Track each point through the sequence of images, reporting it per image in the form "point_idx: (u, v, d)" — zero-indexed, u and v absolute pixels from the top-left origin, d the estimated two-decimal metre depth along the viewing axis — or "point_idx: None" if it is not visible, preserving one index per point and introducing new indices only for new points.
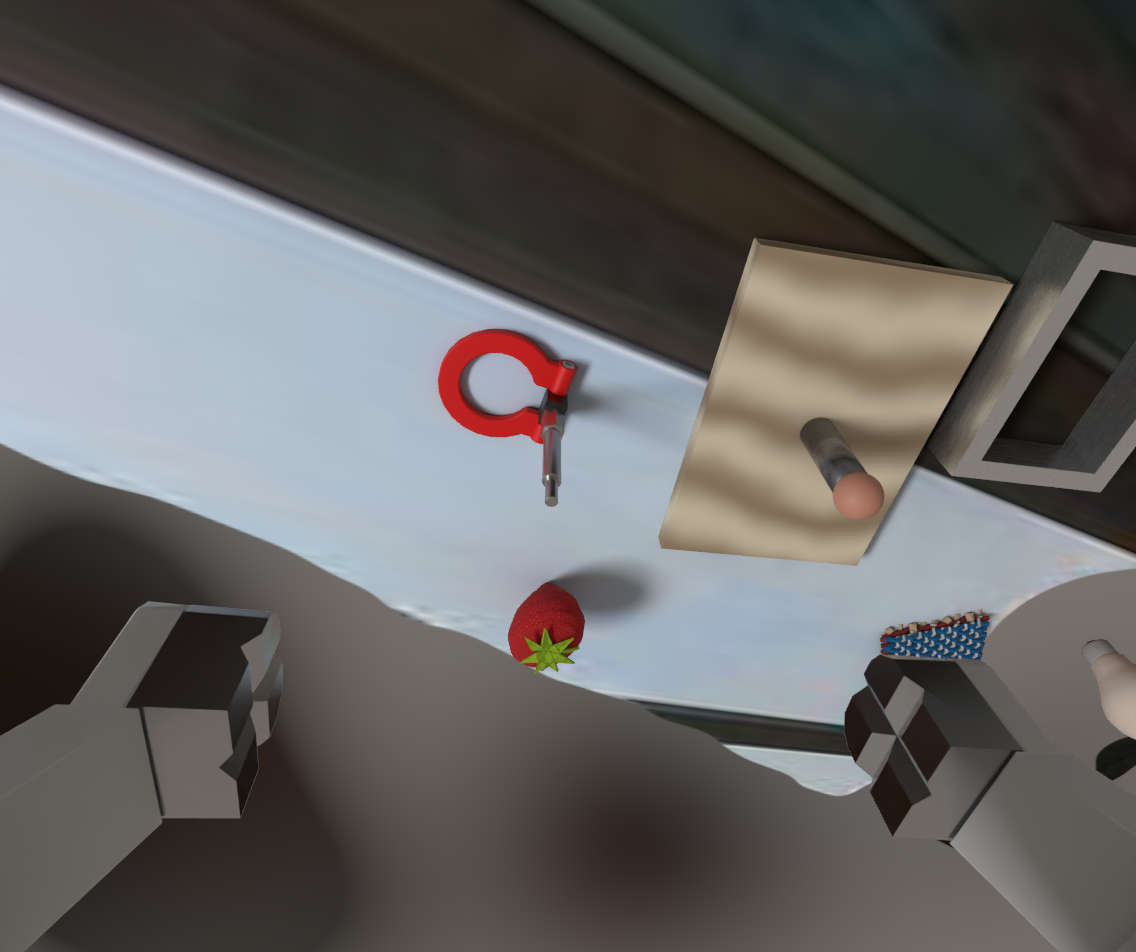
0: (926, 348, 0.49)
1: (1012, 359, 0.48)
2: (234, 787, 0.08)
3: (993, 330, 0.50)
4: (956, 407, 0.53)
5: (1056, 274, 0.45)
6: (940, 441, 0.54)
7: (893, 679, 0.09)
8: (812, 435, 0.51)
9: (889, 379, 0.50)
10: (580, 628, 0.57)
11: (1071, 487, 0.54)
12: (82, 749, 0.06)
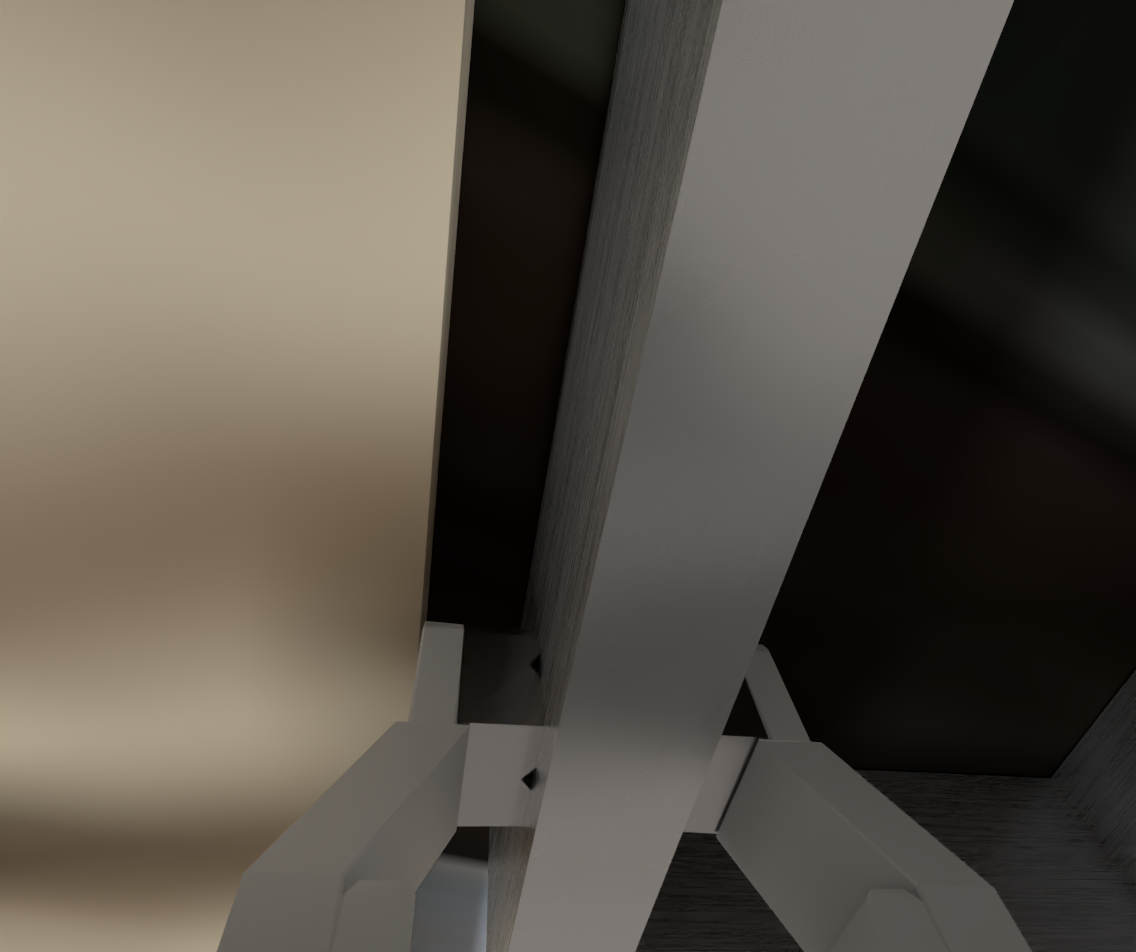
0: (64, 395, 0.07)
1: (595, 471, 0.06)
2: (525, 797, 0.08)
3: (578, 285, 0.08)
4: None
5: None
6: None
7: None
8: None
9: None
10: None
11: None
12: (439, 763, 0.07)
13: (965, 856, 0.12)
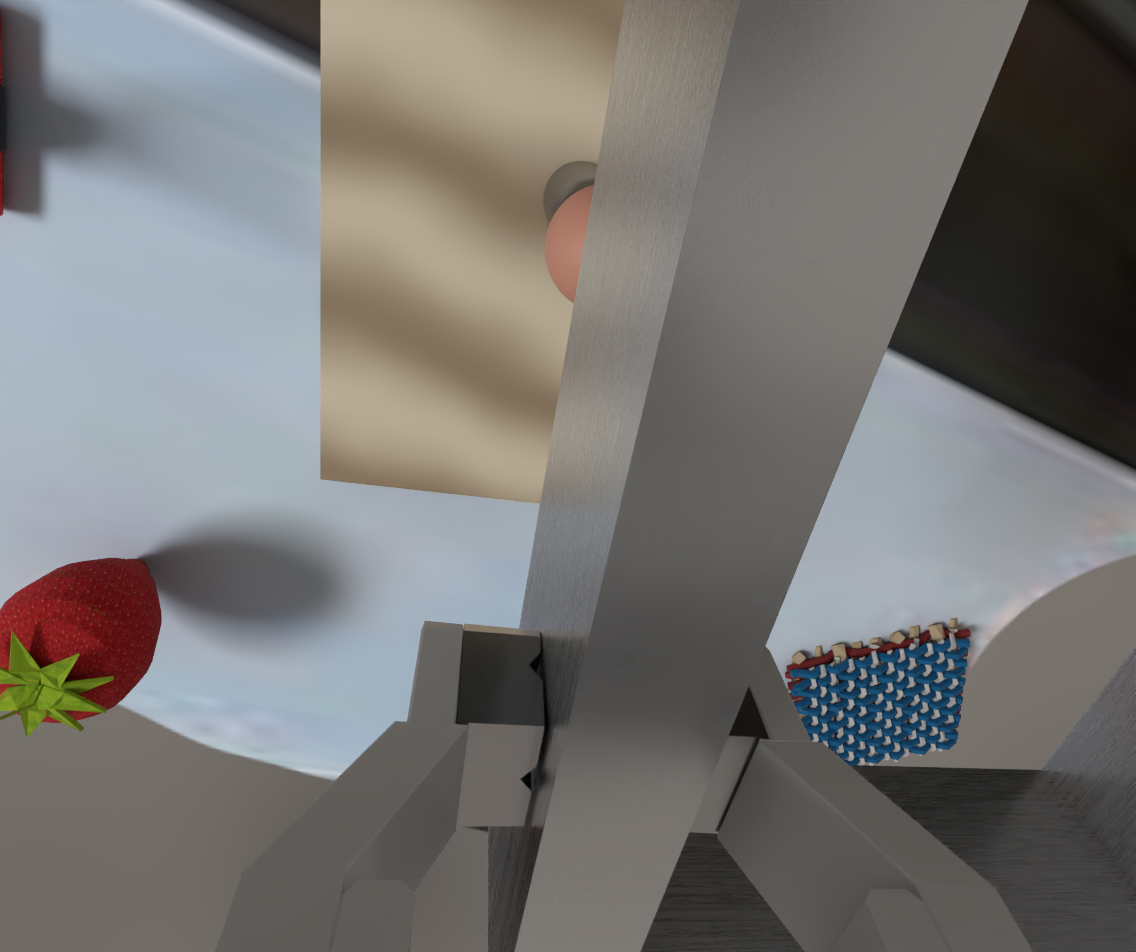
0: None
1: (602, 475, 0.06)
2: (525, 797, 0.08)
3: (577, 287, 0.08)
4: None
5: None
6: None
7: None
8: (551, 185, 0.23)
9: None
10: (120, 635, 0.27)
11: None
12: (439, 762, 0.07)
13: (960, 849, 0.12)
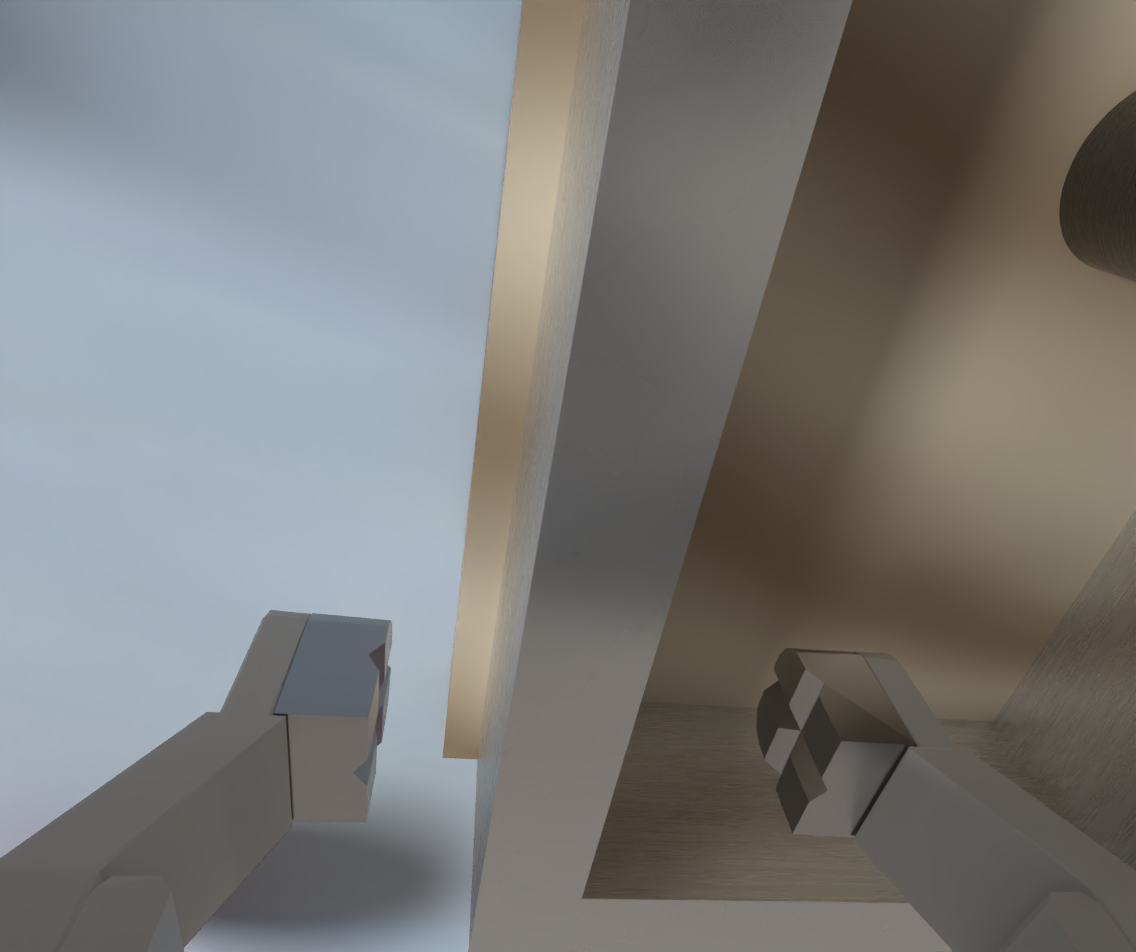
0: None
1: (552, 403, 0.07)
2: (363, 792, 0.08)
3: None
4: (499, 624, 0.12)
5: None
6: (482, 752, 0.13)
7: (797, 673, 0.09)
8: None
9: None
10: None
11: None
12: (242, 755, 0.06)
13: None
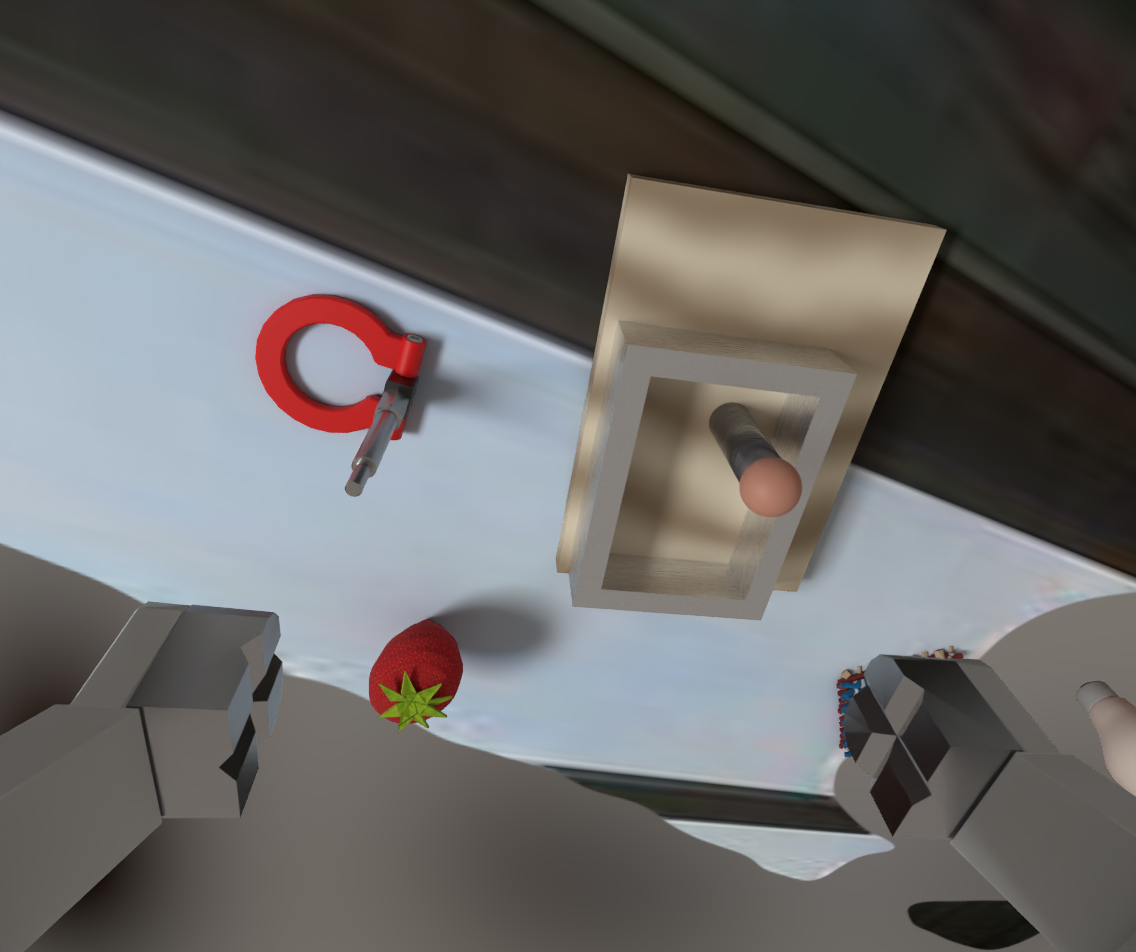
0: (850, 312, 0.40)
1: (597, 476, 0.41)
2: (234, 787, 0.08)
3: None
4: (578, 526, 0.46)
5: (615, 381, 0.39)
6: (572, 564, 0.47)
7: (893, 679, 0.09)
8: (720, 422, 0.42)
9: None
10: (454, 672, 0.46)
11: (723, 615, 0.46)
12: (83, 749, 0.06)
13: (693, 575, 0.47)
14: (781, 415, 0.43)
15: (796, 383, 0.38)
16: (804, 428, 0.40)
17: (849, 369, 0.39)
